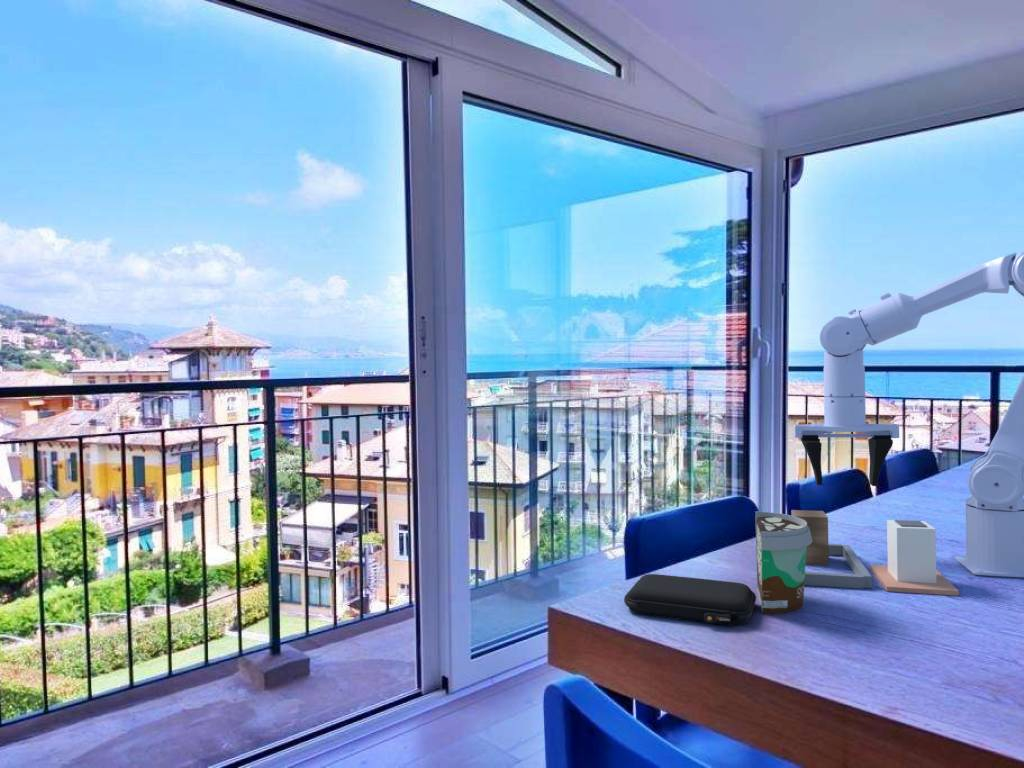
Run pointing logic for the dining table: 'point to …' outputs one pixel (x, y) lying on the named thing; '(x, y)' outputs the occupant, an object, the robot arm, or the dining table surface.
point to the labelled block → (911, 551)
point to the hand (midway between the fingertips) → (845, 484)
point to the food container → (781, 561)
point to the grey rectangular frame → (842, 580)
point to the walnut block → (816, 536)
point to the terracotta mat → (913, 583)
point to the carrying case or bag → (691, 599)
